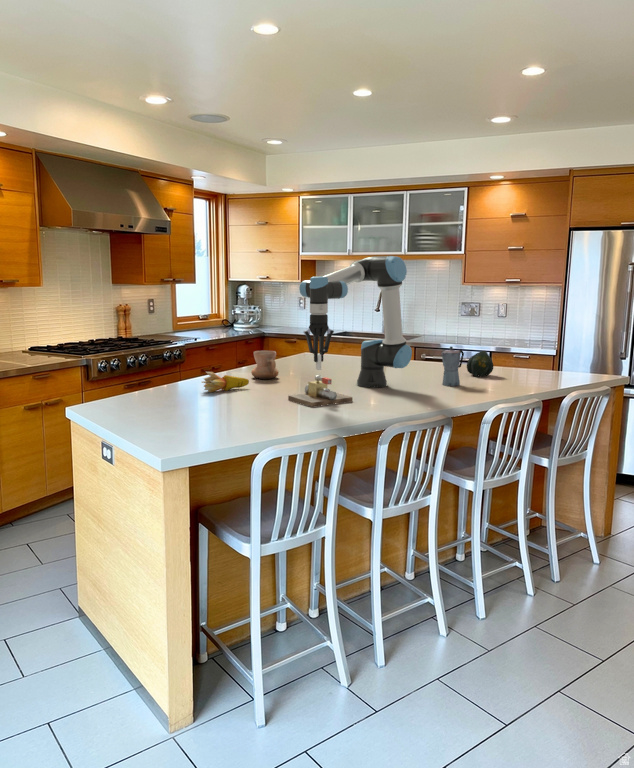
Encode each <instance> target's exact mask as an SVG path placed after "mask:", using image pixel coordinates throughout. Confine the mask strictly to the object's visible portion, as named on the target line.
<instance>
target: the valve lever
mask: <svg viewBox="0 0 634 768" xmlns="http://www.w3.org/2000/svg"><path fill="white" fill-rule="evenodd" d="M314 381H321V382H322V383H324V384H327V386H328V385H332V378H329V377H327V376H326V377H324V376H321V375H320V374H316V375H314Z"/></svg>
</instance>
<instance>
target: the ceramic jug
mask: <svg viewBox="0 0 634 768" xmlns="http://www.w3.org/2000/svg"><path fill="white" fill-rule="evenodd" d="M276 357H277V352H276V351H275V350H255V351H253V358H254V361H255V363H256V366H255V367H254V368H253V369H252V370H251V376H252V377H254V378H256V379H258V378H259V379H260V380H271V379H274V378H276V377H278V375H279V370H278V368H277V364H276Z"/></svg>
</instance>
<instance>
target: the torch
mask: <svg viewBox="0 0 634 768" xmlns="http://www.w3.org/2000/svg"><path fill="white" fill-rule="evenodd" d="M205 373H206V374H207V375H208V376H207V377H204V378H203V381H201V382H200V384H201V383H203V387H204V391H206V393H207V392H210V393H215V392H216V391H220V390H221V391H224V390H225V391H224V392H228V391H230V390H232V389H239V388H244V387H245V386H248V385H249V384H250V380H249V379H248V378H245V377H239V376H238V377H237V376H234V375H233V376H231V375H226V374H225V375H223V376H222V377H220V376H219V375H217V374H216V373H215V372H213V371H205Z"/></svg>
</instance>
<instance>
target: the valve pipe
mask: <svg viewBox="0 0 634 768" xmlns="http://www.w3.org/2000/svg"><path fill="white" fill-rule="evenodd" d="M304 392H305V393H306V394H308V395H309V396H313V397H322V398H327V399H331V400H335V399H336V397H337V394H336V393H337V392H336V391H333V390H331V389H329V388H328V385H327V384H324V383H322V382H321V381H316V380H314V381H308V383H307V384H306V385H305V387H304ZM305 393H304V394H305Z"/></svg>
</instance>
